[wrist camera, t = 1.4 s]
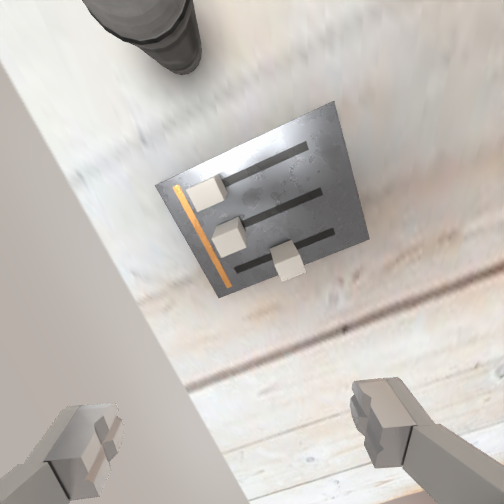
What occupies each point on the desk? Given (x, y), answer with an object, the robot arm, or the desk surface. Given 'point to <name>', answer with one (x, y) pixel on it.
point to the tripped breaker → (287, 261)
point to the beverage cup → (154, 29)
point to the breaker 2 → (229, 237)
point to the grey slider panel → (273, 200)
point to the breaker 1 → (207, 193)
